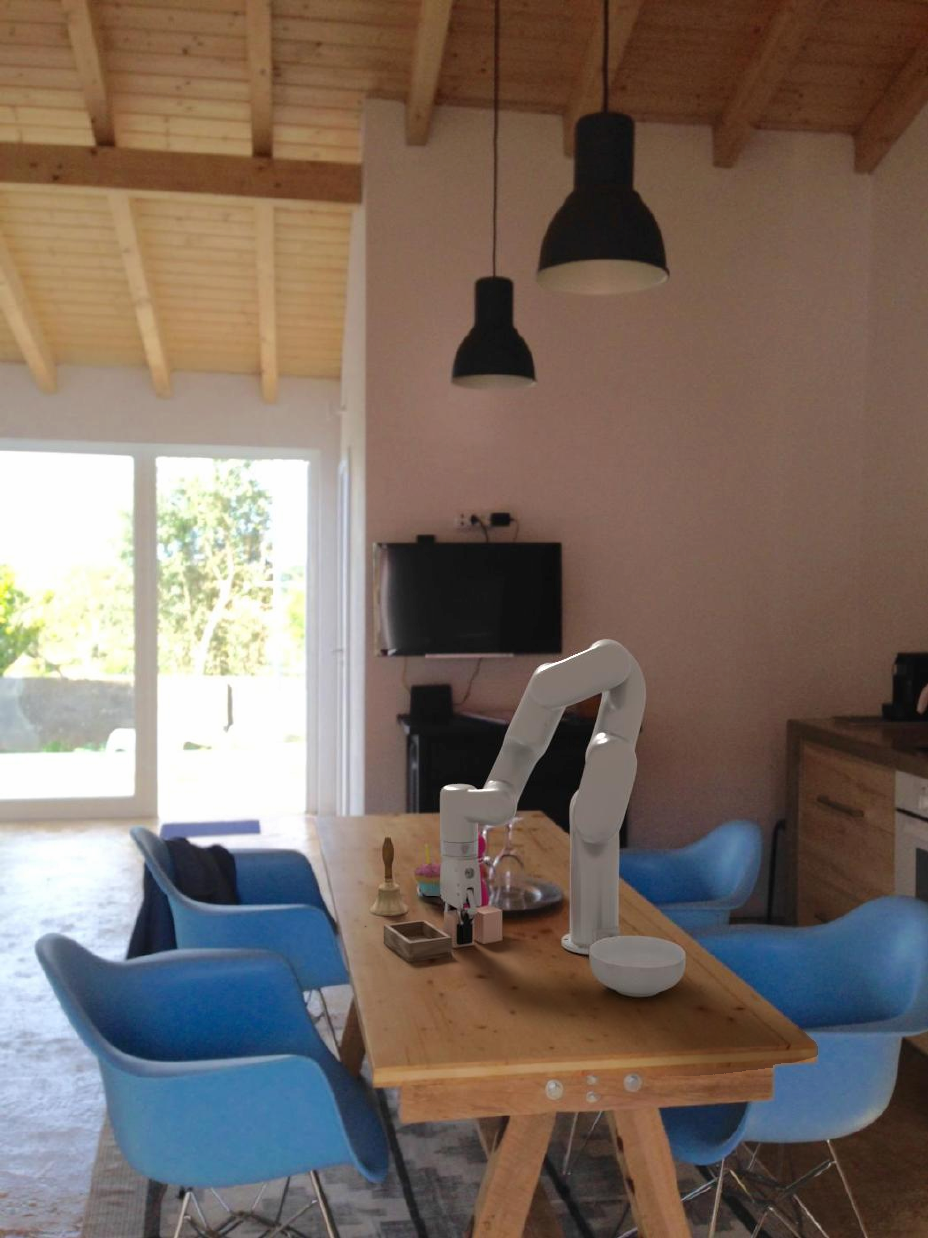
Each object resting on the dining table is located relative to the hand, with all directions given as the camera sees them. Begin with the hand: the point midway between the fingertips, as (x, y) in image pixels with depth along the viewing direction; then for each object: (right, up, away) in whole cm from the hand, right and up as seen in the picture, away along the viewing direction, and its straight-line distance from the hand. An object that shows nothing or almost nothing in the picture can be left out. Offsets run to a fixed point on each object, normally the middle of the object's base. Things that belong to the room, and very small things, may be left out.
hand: (458, 939), depth 236 cm
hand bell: (-15, 0, +23) cm, 27 cm away
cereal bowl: (+31, -2, -26) cm, 41 cm away
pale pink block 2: (+6, -1, +3) cm, 6 cm away
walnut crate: (-8, -1, -4) cm, 9 cm away
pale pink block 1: (0, -1, 0) cm, 1 cm away
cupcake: (-6, 0, +36) cm, 36 cm away
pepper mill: (+3, 0, +16) cm, 16 cm away
